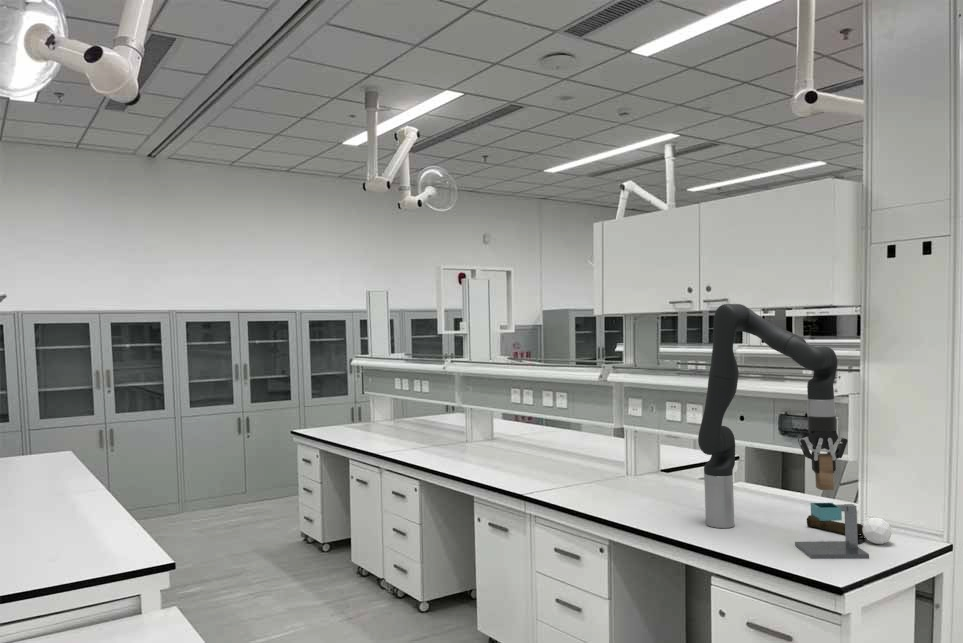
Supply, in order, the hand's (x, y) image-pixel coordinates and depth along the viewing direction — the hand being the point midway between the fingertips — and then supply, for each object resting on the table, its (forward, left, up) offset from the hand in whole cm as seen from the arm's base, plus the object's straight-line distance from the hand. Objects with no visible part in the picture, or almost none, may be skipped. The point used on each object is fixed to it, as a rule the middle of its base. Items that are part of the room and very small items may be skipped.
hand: (823, 472), depth 201 cm
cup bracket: (0, 0, -23) cm, 23 cm away
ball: (-8, +18, -23) cm, 31 cm away
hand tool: (-20, +12, -24) cm, 33 cm away
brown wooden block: (0, 0, -5) cm, 5 cm away
